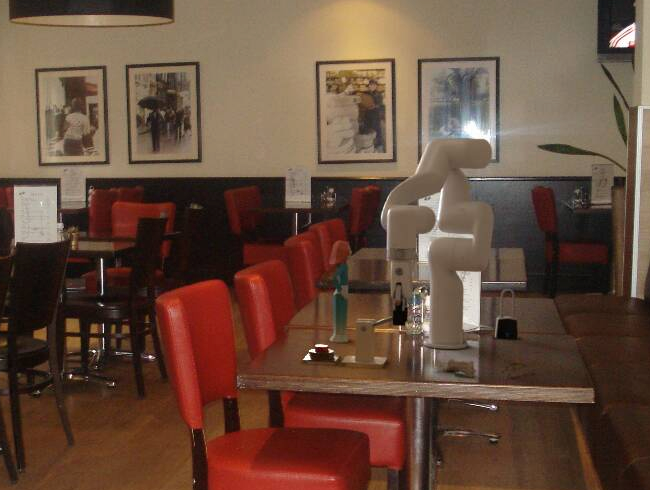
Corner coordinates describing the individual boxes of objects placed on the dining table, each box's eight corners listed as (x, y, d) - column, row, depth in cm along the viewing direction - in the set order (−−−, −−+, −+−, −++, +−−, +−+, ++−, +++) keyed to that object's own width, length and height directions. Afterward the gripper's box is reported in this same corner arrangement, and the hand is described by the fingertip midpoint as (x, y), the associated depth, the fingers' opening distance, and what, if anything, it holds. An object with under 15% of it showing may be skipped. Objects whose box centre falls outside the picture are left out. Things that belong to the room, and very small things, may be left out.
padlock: (517, 336, 318) (518, 288, 317) (518, 339, 314) (520, 289, 312) (494, 336, 319) (495, 287, 318) (495, 338, 315) (497, 289, 314)
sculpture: (349, 344, 306) (350, 242, 303) (326, 343, 307) (327, 242, 304) (352, 336, 318) (353, 238, 315) (330, 336, 320) (331, 238, 317)
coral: (437, 370, 270) (438, 353, 269) (478, 374, 265) (478, 357, 264) (431, 374, 265) (431, 357, 264) (472, 378, 260) (472, 361, 259)
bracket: (387, 362, 281) (387, 318, 279) (383, 368, 272) (383, 324, 271) (346, 359, 284) (347, 316, 283) (341, 366, 275) (341, 322, 274)
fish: (504, 380, 258) (505, 360, 258) (499, 379, 260) (499, 359, 259) (534, 374, 265) (535, 354, 265) (528, 373, 266) (529, 353, 266)
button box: (340, 359, 284) (340, 349, 283) (335, 365, 276) (336, 354, 276) (308, 358, 286) (308, 347, 286) (302, 363, 278) (302, 352, 278)
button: (329, 351, 282) (329, 344, 282) (327, 353, 279) (327, 347, 278) (316, 350, 283) (316, 344, 283) (313, 353, 280) (314, 346, 279)
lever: (406, 317, 276) (403, 309, 276) (404, 320, 271) (401, 312, 271) (362, 331, 280) (359, 322, 280) (360, 334, 275) (357, 325, 275)
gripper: (412, 258, 263) (411, 329, 265) (418, 252, 280) (417, 319, 281) (382, 257, 265) (381, 328, 267) (390, 251, 282) (389, 318, 283)
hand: (400, 322), depth 274 cm, fingers open, 5 cm apart
